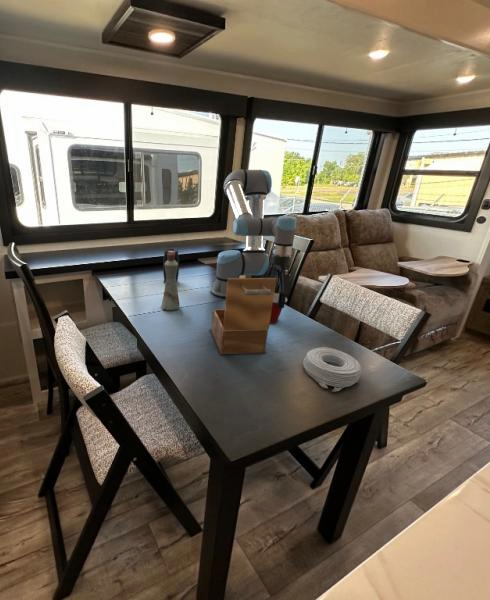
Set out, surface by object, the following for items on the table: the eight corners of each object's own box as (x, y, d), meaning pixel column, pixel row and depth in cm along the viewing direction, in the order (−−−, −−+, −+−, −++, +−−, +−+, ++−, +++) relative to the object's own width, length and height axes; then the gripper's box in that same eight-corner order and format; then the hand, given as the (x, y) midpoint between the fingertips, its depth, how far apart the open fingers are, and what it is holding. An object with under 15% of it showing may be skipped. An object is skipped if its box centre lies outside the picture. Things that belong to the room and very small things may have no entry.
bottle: (157, 307, 152) (157, 251, 141) (170, 302, 158) (171, 248, 147) (170, 313, 146) (171, 255, 135) (183, 307, 152) (184, 251, 141)
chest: (211, 330, 132) (212, 309, 128) (249, 329, 133) (251, 308, 130) (221, 354, 115) (223, 331, 111) (264, 353, 116) (268, 330, 113)
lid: (227, 278, 104) (233, 286, 97) (275, 277, 105) (284, 285, 98) (223, 329, 111) (228, 340, 104) (267, 328, 113) (275, 339, 106)
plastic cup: (284, 327, 136) (289, 302, 131) (259, 324, 138) (263, 299, 133) (282, 316, 146) (286, 293, 141) (258, 314, 147) (261, 290, 143)
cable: (331, 396, 95) (335, 380, 92) (290, 365, 110) (293, 350, 107) (370, 382, 101) (375, 367, 99) (327, 354, 116) (330, 340, 114)
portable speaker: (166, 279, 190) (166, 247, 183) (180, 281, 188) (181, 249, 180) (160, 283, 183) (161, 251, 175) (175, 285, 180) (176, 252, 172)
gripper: (262, 247, 141) (256, 291, 149) (285, 262, 118) (277, 313, 126) (278, 247, 141) (271, 291, 149) (304, 262, 118) (294, 313, 126)
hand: (274, 301), depth 138 cm, fingers open, 13 cm apart
